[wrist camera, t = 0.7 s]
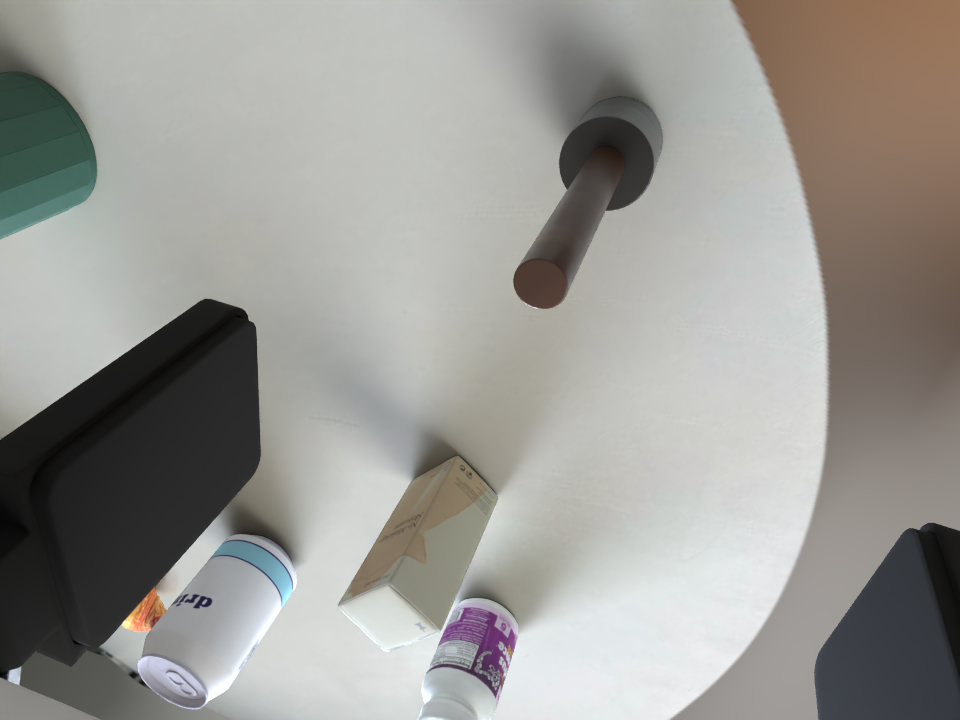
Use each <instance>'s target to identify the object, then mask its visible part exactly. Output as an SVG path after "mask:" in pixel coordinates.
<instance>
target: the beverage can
mask: <svg viewBox="0 0 960 720" xmlns="http://www.w3.org/2000/svg"><path fill="white" fill-rule="evenodd" d="M296 584H297V576H296V572H295V569H294V567H293V565H292V564H291V560H290V558H289V556H288V555H287V553H286V552H285V551H284V550H283V549H282V548H281V547H280V546H279V545H278V544H276V543H275V542H273V541H272V540H270V539H268V538H265V537H263V536H258V535H247V534H238V535H233V536H230V537H229V538H227V539H226V540H225V541H224V542H223V544H222V545H221V546H220V547H219V548H218V550H217V551H216V552H215V553H214V554H213V556H212V557H211V558H210V559H209V560H208V562H207V563H206V564H205V565H204V566H203V568H202V569H201V570H200V571H199V572H198V574H197V575H196V576H195V577H194V578H193V580H192V581H191V582H190V583H189V584H188V586H187V587H186V588H185V589H184V591H183V592H182V593H181V594H180V595H179V597H178V598H177V599H176V600H175V601H174V603H173V604H172V605H171V606H170V607H169V609H168V610H167V611H166V612H165V613H164V615H163V616H162V617H161V618H160V619H159V621H158V622H157V623H156V624H155V625H154V627H153V628H152V629H151V630H150V631H149V633H148V634H147V636H146V639H145V643H144V648H143V653H142V657H141V658H140V659H139V661H138V663H137V669H138V672H139V674H140V676H141V678H142V679H143V681H144V682H145V683H146V684H147V685H148V686H149V687H150V688H151V689H152V690H153V691H154V692H155V693H157V694H158V695H159V696H161V697H162V698H164V699H165V700H167V701H169V702H171V703H173V704H175V705H177V706H180V707H183V708H188V709H199V708H202V707H203V706H205V704H206V703H207V701H209V700H210V699H212V698H214V697H216V696H217V695H219V694H221V693H223V692H224V691H226V690H227V689H228V688H229V686H230V685H231V683H232V682H233V680H234V679H235V677H236V676H237V674H238V673H239V671H240V670H241V668H242V667H243V665H244V664H245V662H246V661H247V659H248V658H249V656H250V655H251V653H252V652H253V650H254V649H255V647H256V646H257V644H258V643H259V641H260V640H261V638H262V637H263V635H264V634H265V632H266V631H267V629H268V628H269V626H270V625H271V623H272V622H273V620H274V619H275V617H276V616H277V614H278V613H279V611H280V610H281V608H282V607H283V605H284V604H285V602H286V601H287V599H288V598H289V596H290V595H291V593H292V592H293V590H294V589H295V587H296Z"/></svg>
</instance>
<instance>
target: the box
mask: <svg viewBox="0 0 960 720" xmlns="http://www.w3.org/2000/svg"><path fill="white" fill-rule="evenodd" d="M497 501H498V496H497V495H496V494H495V493H494V492H493V491H492V490H491V488H490V487H489V486H488V485H487V484H486V483H485V482H484V481H483V480H482V479H481V478H480V477H479V476H478V475H477V474H476V473H475V472H474V471H473V470H472V469H471V468H470V467H469V465H468V464H467V463H466V462H465V461H463V459H462V458H460V457H459V456H455V457H453V458H451V459H449V460H448V461H446V462H444V463H442V464H440V465H439V466H437V467H435V468H433V469H431V470H430V471H428V472H426V473H424V474H423V475H421V476H419V477H417V478H416V479H414V480H413V481H411V483H410V484H409V486H408V488H407V490H406V491H405V493H404V495H403V496H402V498H401V500H400V501H399V503H398V505H397V506H396V508H395V510H394V511H393V513H392V515H391V516H390V518H389V520H388V521H387V523H386V525H385V526H384V528H383V530H382V531H381V533H380V535H379V537H378V538H377V540H376V542H375V543H374V545H373V547H372V549H371V550H370V552H369V553H368V555H367V557H366V558H365V560H364V562H363V564H362V565H361V567H360V569H359V570H358V572H357V574H356V575H355V577H354V579H353V580H352V582H351V584H350V586H349V587H348V589H347V591H346V592H345V594H344V596H343V597H342V599H341V601H340V602H339V604H338V607H339V608H340V609H341V610H342V611H343V612H344V613H345V614H346V615H347V616H348V617H349V618H350V619H351V620H352V621H353V622H354V623H355V624H356V625H357V626H358V627H359V628H361V629H362V630H363V631H364V632H365V633H366V634H367V635H368V636H369V637H370V638H371V639H372V640H373V641H374V642H375V643H376V644H377V645H378V646H379V647H380V648H381V649H382V650H384V651H387V652H388V651H392V650H395V649H397V648H400V647H403V646H406V645H409V644H412V643H414V642H417V641H419V640H422V639H424V638H427V637H430V636H432V635H435V634H437V633H440V631H441V630H442V627H443V625H444V623H445V621H446V618H447V616H448V614H449V611H450V609H451V607H452V605H453V602H454V600H455V597H456V595H457V593H458V591H459V588H460V586H461V584H462V581H463V579H464V577H465V575H466V572H467V570H468V568H469V565H470V563H471V561H472V558H473V556H474V554H475V552H476V549H477V547H478V545H479V542H480V540H481V537H482V535H483V533H484V531H485V528H486V526H487V524H488V521H489V519H490V517H491V514H492V512H493V510H494V507H495V505H496V503H497Z"/></svg>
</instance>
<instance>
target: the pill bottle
mask: <svg viewBox="0 0 960 720" xmlns="http://www.w3.org/2000/svg"><path fill="white" fill-rule="evenodd" d="M518 632H519V630H518V625H517V622H516V620H515V618H514V617H513V615H512V614H511V613H510V612H509V611H508V610H507V609H506V608H504V607H503V606H501V605H500V604H498V603H496V602H494V601H491V600H488V599H483V598H470V599H465V600H463V601H461V602H460V603H459V604H458V605H457V606H456V607H455V609H454V611H453V613H452V615H451V617H450V619H449V622H448V624H447V626H446V629H445V631H444V633H443V636H442V638H441V640H440V642H439V645H438V647H437V650H436V652H435V654H434V657H433V659H432V662H431V664H430V666H429V669H428V671H427V673H426V676H425V678H424V681H423V685H422V695H423V699H424V701H425V705H424V706H423V708H422V710H421V713H420V716H419V719H418V720H490V719H491V718H492V716H493V715H494V712H495V710H496V707H497V704H498V700H499V697H500V694H501V690H502V687H503V684H504V681H505V678H506V674H507V671H508V668H509V665H510V661H511V658H512V654H513V652H514V648H515V645H516V641H517V638H518Z"/></svg>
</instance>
